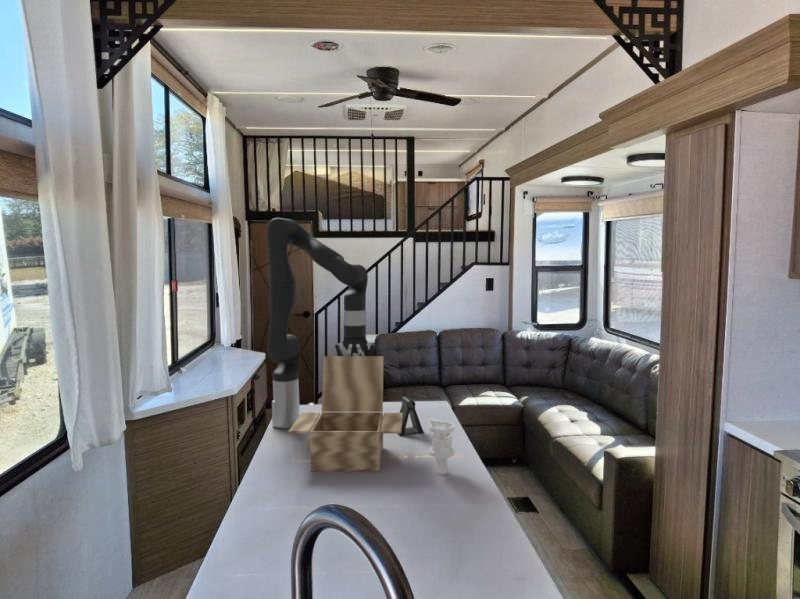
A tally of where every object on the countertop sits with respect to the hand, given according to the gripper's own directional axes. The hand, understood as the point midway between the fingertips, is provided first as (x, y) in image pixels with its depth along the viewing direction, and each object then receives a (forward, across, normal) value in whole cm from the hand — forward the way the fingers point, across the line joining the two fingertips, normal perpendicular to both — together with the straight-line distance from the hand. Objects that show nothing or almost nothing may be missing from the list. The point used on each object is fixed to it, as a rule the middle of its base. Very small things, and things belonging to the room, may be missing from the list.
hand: (355, 373), depth 175 cm
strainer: (+23, -28, +28) cm, 46 cm away
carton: (+22, 0, +19) cm, 30 cm away
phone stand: (+22, -18, -5) cm, 29 cm away
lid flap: (+2, 0, +8) cm, 8 cm away
